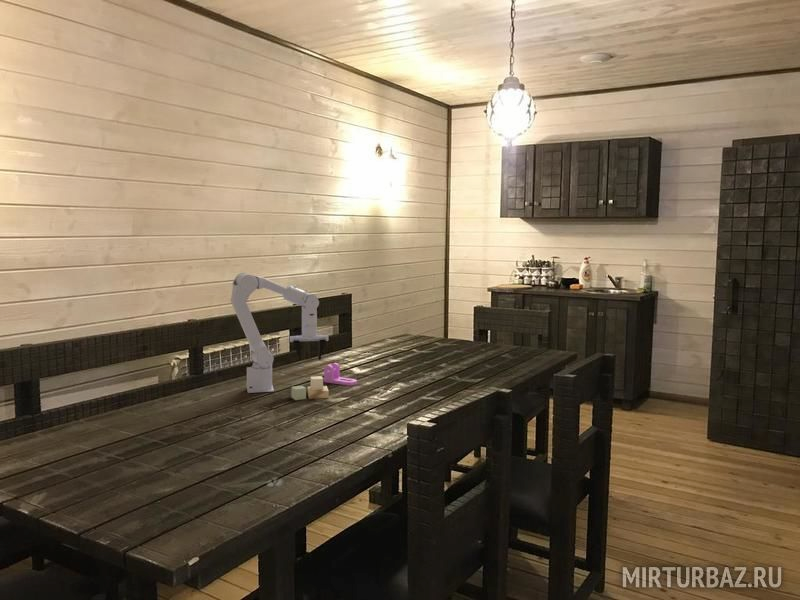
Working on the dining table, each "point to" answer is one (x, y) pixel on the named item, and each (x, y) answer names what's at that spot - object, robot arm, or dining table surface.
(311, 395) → the oak slab
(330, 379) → the bracket
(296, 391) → the sage cube
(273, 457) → the dining table surface
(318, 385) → the cream cube
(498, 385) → the dining table surface
